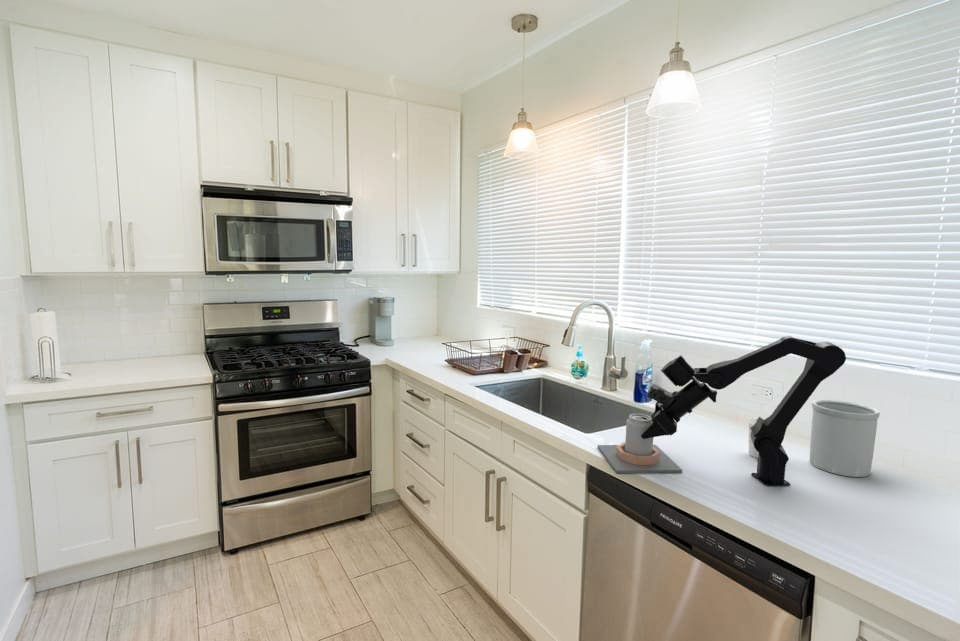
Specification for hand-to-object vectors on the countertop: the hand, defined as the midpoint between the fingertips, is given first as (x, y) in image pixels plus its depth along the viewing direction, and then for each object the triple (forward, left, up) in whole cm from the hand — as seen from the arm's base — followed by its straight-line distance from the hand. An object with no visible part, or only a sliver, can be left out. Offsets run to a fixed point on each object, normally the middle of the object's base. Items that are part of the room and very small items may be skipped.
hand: (643, 432), depth 136 cm
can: (0, +1, -8) cm, 8 cm away
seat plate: (+1, +1, -8) cm, 8 cm away
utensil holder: (-5, -54, -9) cm, 55 cm away
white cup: (+3, -37, -9) cm, 38 cm away
